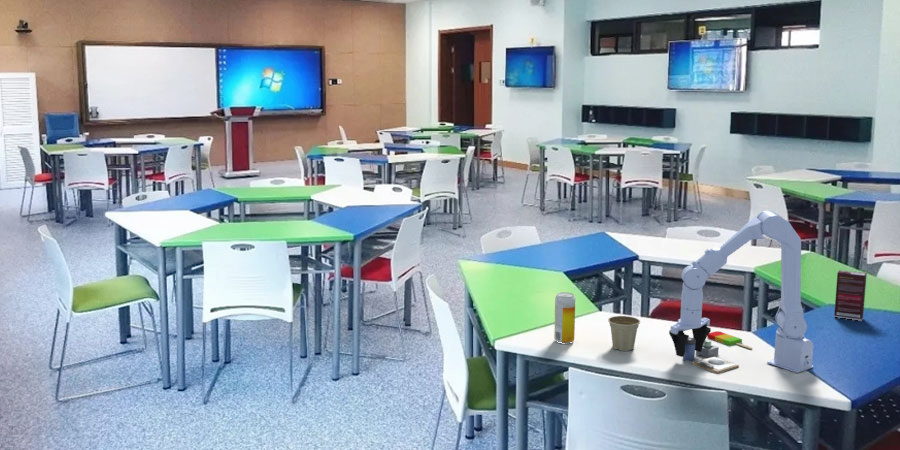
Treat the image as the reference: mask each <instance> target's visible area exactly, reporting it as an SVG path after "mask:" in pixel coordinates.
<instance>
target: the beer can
mask: <svg viewBox="0 0 900 450" xmlns="http://www.w3.org/2000/svg"><path fill="white" fill-rule="evenodd" d="M554 306H555V307H554V336H553V337H554V341H555V342H556V341H558V342H562V343H570V342H572V343H573V342H574V341H575V329H576V326H575V325H576V296H575V294H574V293H571V292H565V291H564V292H558V293H556V296H555V301H554Z"/></svg>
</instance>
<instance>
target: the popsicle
mask: <svg viewBox="0 0 900 450" xmlns="http://www.w3.org/2000/svg"><path fill="white" fill-rule="evenodd" d="M707 338H708V340H711V341H715V342H718V343H721V344H724V345H727V346H729V347H730V346H734V345H737V346H738V347H739V346H740V347H742V348H746V349H749V350H753V347H751V346H748V345H745V344H743V339H742V338H740V337H737V336H733V335H731V334H728V333H725V332H721V331H719V330H718V331H711V332H710V333H709V334H708V336H707V337H706V339H707Z"/></svg>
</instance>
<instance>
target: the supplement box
mask: <svg viewBox="0 0 900 450" xmlns="http://www.w3.org/2000/svg"><path fill="white" fill-rule="evenodd" d="M836 274H837V275H836V277H837V278H836V286H835V287H836V288H835V289H836V290H835V301H834V302H835V303H834V314H833V315H834V316H835V317H840V318H846V319H845V320H847V319H852V320H851V321H855V320H858V321H857V322H862V321H863V319H864V312H865V311H864V310H865V298H866V297H865V296H866V288H867V276H868V275H867V272H861V271H851V270H850V271H849V270H842V269H839V270H838V271H837V273H836ZM834 316H833V317H834ZM840 318H839V319H840Z"/></svg>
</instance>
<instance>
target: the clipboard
mask: <svg viewBox="0 0 900 450" xmlns="http://www.w3.org/2000/svg"><path fill="white" fill-rule="evenodd" d="M691 364H692V365H694V366H695V367H698V368H700V369H701V368H702V369H704V370H706V371H709V372H712V373H715V374H721V373H724V372H727V371H730V370H734V369H737V368H739V367H740V365H739V364H737V363H734V362H731V361H729V360H725V359H722V358H719V357H717V356H712V357H709V358H707V357H705V358H703V359H699V360H694V361H692V363H691Z"/></svg>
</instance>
